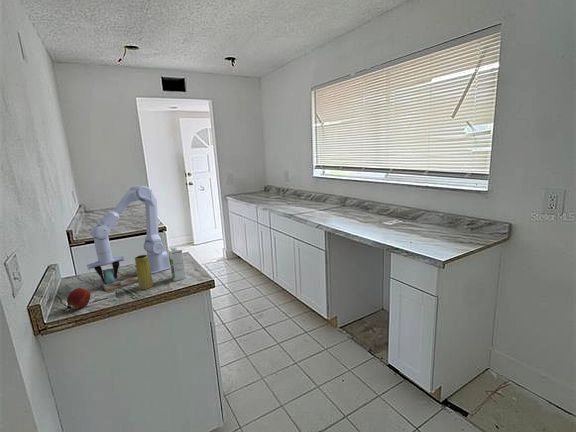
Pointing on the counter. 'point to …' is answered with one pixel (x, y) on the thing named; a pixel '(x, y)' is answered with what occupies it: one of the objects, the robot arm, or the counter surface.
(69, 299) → the apple
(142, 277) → the vase
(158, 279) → the counter surface
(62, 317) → the counter surface
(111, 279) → the peg
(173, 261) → the syrup box
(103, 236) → the robot arm
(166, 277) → the counter surface
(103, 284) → the brown tray
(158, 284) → the counter surface
